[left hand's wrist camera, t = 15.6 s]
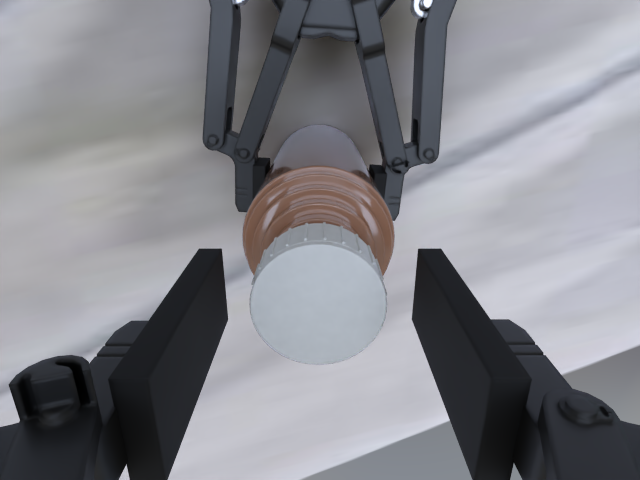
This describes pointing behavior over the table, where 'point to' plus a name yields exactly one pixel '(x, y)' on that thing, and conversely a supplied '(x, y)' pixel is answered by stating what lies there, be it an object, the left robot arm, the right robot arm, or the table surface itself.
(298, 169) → the bottle
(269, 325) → the cap
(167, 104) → the table surface
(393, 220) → the right robot arm
